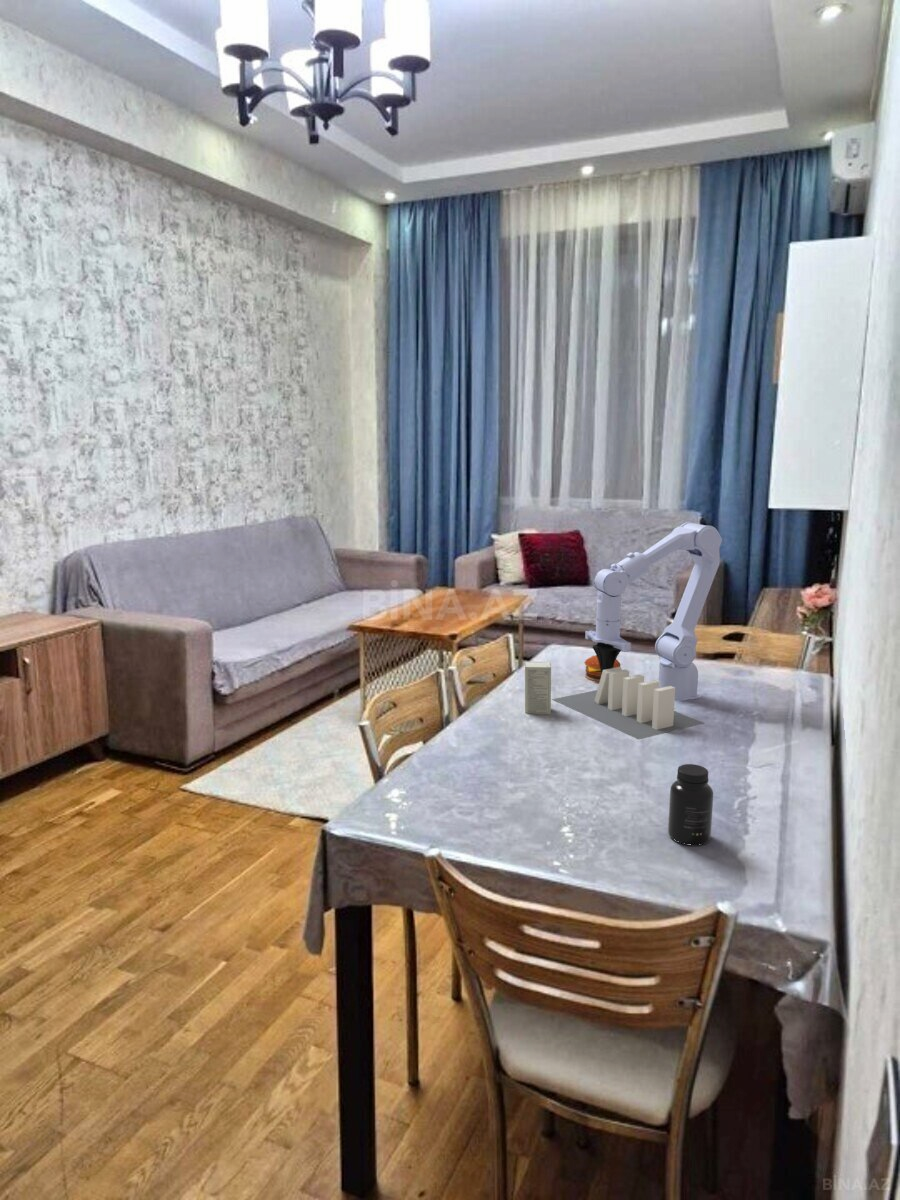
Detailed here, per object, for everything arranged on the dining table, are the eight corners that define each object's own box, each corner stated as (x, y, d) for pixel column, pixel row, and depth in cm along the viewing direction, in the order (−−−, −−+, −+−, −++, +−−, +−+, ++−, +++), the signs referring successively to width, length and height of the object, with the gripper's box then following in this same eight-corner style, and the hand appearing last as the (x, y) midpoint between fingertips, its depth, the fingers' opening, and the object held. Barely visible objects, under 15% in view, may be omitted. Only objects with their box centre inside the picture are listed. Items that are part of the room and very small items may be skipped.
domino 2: (607, 708, 196) (609, 672, 194) (623, 704, 199) (625, 669, 197) (611, 710, 195) (613, 674, 193) (627, 706, 197) (629, 670, 195)
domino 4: (636, 720, 188) (638, 683, 186) (652, 717, 190) (654, 680, 188) (641, 722, 186) (642, 685, 185) (657, 719, 189) (659, 681, 187)
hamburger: (614, 674, 226) (615, 651, 225) (623, 685, 217) (624, 661, 215) (580, 674, 226) (581, 651, 224) (587, 685, 216) (588, 661, 215)
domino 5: (651, 727, 183) (653, 689, 182) (668, 723, 186) (670, 685, 184) (656, 729, 182) (658, 691, 180) (673, 725, 185) (675, 687, 183)
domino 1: (594, 700, 200) (602, 670, 196) (610, 697, 203) (618, 667, 199) (598, 704, 199) (606, 673, 195) (613, 700, 202) (622, 670, 197)
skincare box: (550, 710, 197) (551, 661, 194) (550, 716, 192) (552, 667, 190) (524, 709, 197) (525, 661, 195) (524, 715, 193) (524, 666, 191)
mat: (613, 688, 213) (613, 686, 213) (704, 725, 186) (704, 722, 186) (551, 701, 203) (551, 699, 203) (638, 741, 177) (638, 739, 177)
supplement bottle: (661, 828, 138) (665, 761, 136) (700, 826, 139) (705, 760, 137) (676, 848, 132) (680, 778, 129) (717, 846, 132) (722, 777, 130)
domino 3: (621, 714, 192) (623, 677, 190) (637, 710, 194) (639, 674, 192) (626, 716, 191) (627, 679, 189) (642, 712, 193) (644, 676, 191)
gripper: (576, 615, 201) (574, 668, 203) (615, 627, 188) (613, 683, 191) (598, 612, 204) (596, 664, 207) (638, 623, 192) (636, 679, 194)
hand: (606, 673), depth 199 cm, fingers closed
